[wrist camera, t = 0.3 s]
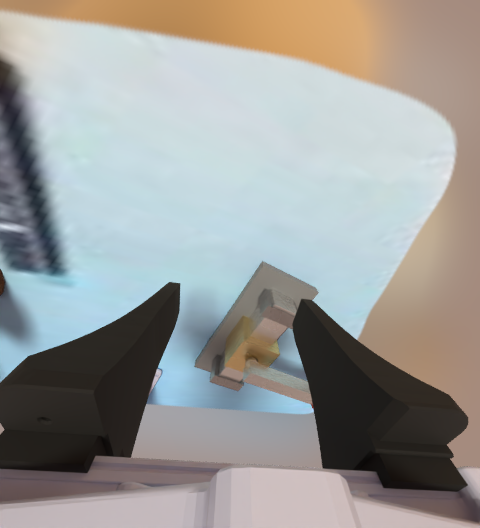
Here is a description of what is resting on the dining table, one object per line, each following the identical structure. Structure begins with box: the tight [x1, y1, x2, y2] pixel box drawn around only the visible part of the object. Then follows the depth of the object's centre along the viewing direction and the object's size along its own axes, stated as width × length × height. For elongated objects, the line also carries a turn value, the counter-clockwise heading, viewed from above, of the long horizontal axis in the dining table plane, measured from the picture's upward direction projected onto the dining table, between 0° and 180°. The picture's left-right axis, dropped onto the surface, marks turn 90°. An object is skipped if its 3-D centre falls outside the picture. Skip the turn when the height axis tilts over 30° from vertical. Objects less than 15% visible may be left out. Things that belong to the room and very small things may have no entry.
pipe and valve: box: [210, 288, 297, 391], centre depth 24 cm, size 14×4×4 cm, turn 151°
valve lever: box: [243, 357, 313, 408], centre depth 23 cm, size 12×2×2 cm, turn 61°
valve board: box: [195, 261, 318, 372], centre depth 27 cm, size 18×7×1 cm, turn 151°
